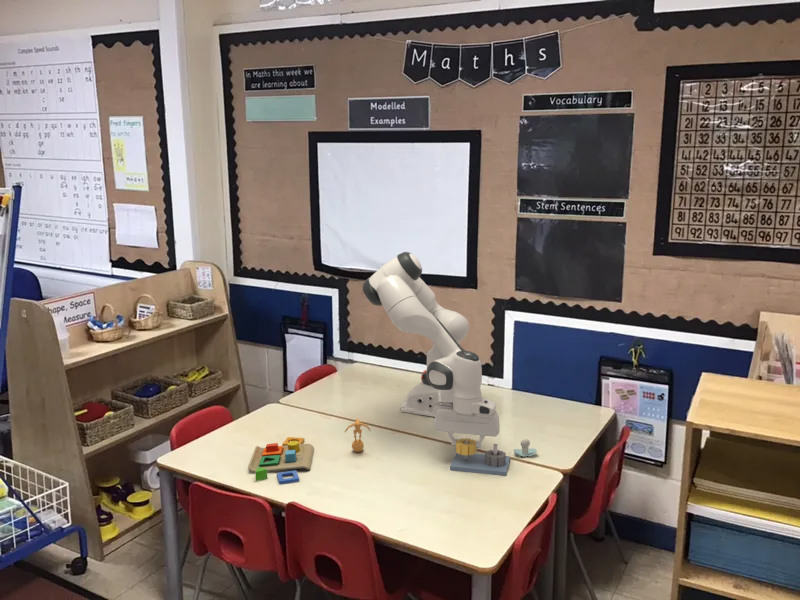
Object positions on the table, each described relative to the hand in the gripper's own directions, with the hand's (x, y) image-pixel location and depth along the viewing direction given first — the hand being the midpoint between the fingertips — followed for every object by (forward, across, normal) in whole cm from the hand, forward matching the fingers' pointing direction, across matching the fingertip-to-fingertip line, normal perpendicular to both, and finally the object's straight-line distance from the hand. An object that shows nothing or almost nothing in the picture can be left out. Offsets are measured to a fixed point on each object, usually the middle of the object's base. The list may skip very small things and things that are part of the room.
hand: (466, 446), depth 220 cm
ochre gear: (+2, 0, 0) cm, 2 cm away
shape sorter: (+6, -57, -12) cm, 58 cm away
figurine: (+6, -36, 0) cm, 36 cm away
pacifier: (+6, +17, +11) cm, 21 cm away
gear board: (+6, +4, 0) cm, 7 cm away
